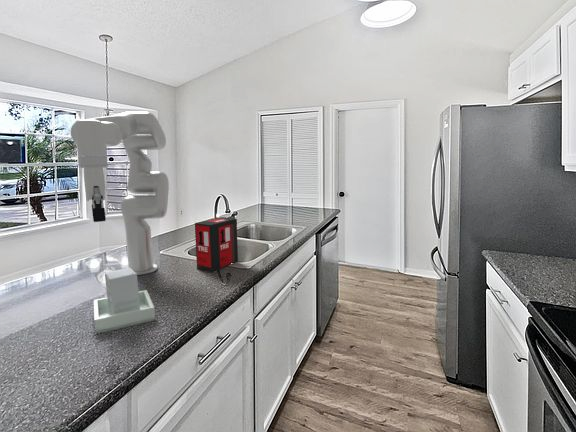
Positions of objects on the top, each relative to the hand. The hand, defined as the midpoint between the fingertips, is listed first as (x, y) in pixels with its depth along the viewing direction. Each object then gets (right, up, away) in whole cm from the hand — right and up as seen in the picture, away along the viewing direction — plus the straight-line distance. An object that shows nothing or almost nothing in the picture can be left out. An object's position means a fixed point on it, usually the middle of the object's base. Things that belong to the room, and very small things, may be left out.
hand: (99, 218), depth 103 cm
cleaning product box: (+28, -21, +44) cm, 56 cm away
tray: (+9, -29, -3) cm, 31 cm away
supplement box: (+9, -28, -3) cm, 30 cm away
